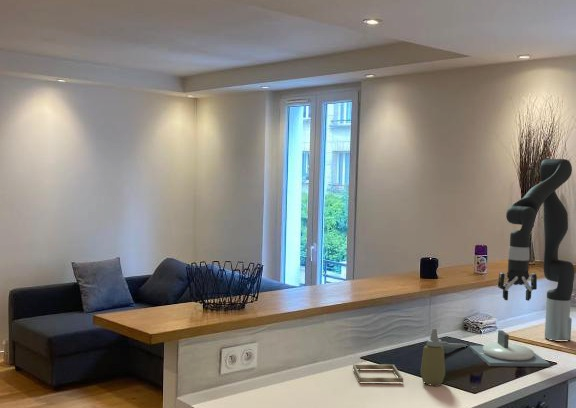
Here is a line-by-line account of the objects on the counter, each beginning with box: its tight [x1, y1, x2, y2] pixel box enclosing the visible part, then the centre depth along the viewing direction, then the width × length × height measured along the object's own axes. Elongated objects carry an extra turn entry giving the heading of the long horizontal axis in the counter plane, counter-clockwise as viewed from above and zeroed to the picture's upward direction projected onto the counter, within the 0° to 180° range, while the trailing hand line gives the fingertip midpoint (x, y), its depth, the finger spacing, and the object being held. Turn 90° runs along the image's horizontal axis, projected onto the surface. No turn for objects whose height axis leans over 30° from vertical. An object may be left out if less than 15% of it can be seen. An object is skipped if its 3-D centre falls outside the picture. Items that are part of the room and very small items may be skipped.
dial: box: [482, 330, 535, 361], centre depth 247 cm, size 19×18×6 cm
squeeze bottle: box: [419, 328, 446, 386], centre depth 214 cm, size 8×8×18 cm
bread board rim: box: [352, 363, 404, 383], centre depth 220 cm, size 14×14×2 cm
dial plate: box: [468, 345, 551, 368], centre depth 247 cm, size 22×22×1 cm
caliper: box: [438, 338, 468, 350], centre depth 253 cm, size 20×1×6 cm, turn 131°
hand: (516, 300), depth 253 cm, fingers open, 8 cm apart
